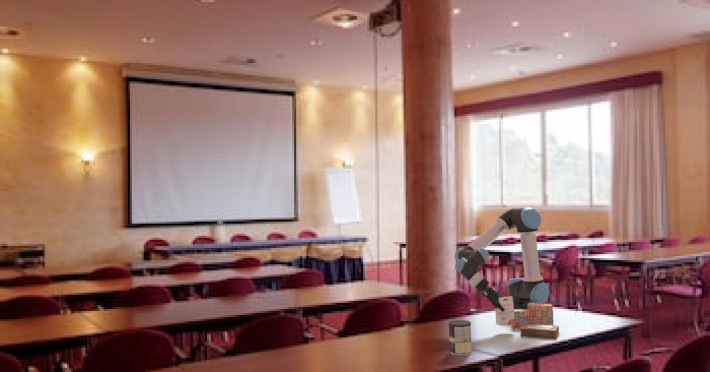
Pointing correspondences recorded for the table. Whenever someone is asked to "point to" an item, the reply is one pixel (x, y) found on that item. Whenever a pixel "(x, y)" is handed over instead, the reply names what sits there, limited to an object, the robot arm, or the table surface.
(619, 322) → the table surface
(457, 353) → the coffee can
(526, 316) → the stack of blocks
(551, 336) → the walnut plinth
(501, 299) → the ink cartridge box
